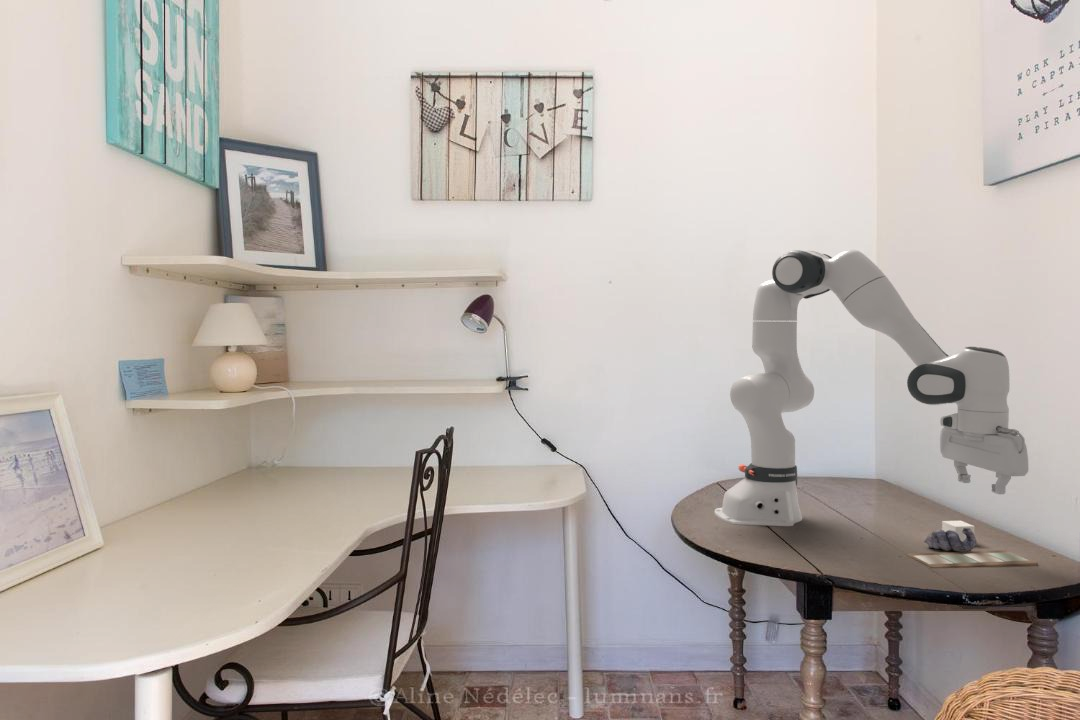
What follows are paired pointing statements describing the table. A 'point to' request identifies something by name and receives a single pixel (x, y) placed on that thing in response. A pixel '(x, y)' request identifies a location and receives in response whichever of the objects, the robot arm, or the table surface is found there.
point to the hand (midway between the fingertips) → (980, 487)
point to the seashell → (951, 540)
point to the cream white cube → (957, 527)
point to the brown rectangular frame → (972, 559)
